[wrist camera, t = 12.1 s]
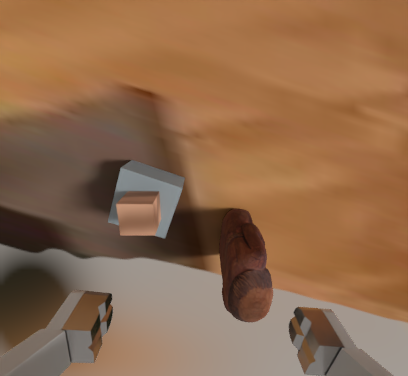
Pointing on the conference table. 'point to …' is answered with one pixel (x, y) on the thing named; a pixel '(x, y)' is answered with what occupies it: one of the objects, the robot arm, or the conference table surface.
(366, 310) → the conference table surface
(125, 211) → the terracotta cube
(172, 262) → the conference table surface
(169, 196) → the slate base block
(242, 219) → the wooden figurine
